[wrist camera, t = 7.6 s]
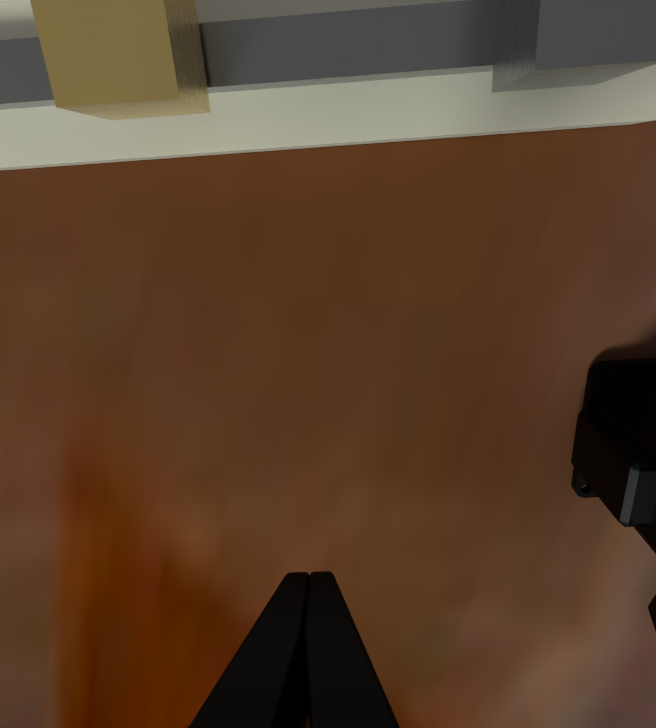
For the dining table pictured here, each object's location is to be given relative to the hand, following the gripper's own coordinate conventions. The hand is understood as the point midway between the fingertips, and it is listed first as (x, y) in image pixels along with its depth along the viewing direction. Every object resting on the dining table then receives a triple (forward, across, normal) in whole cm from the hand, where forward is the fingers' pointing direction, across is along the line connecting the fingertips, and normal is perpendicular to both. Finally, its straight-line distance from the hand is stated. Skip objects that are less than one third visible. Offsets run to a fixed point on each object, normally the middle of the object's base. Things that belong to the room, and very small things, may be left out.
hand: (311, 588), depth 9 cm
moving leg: (+10, +4, -13) cm, 17 cm away
